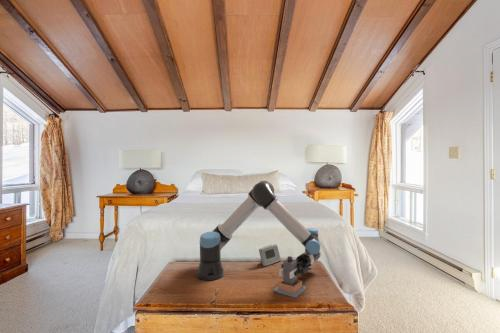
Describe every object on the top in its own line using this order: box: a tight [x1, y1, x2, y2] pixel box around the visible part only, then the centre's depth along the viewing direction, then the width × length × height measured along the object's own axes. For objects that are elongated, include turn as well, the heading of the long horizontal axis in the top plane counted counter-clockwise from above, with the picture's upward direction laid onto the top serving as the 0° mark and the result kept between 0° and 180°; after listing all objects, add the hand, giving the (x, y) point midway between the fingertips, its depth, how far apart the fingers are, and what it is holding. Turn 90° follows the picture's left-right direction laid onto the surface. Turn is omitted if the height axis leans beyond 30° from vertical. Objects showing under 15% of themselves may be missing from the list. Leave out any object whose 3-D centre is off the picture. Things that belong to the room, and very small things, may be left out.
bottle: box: [282, 255, 298, 286], centre depth 138 cm, size 5×5×14 cm
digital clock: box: [258, 243, 282, 267], centre depth 176 cm, size 16×9×11 cm, turn 121°
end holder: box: [273, 279, 307, 299], centre depth 138 cm, size 12×12×4 cm
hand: (285, 274), depth 134 cm, fingers closed on bottle, 5 cm apart
